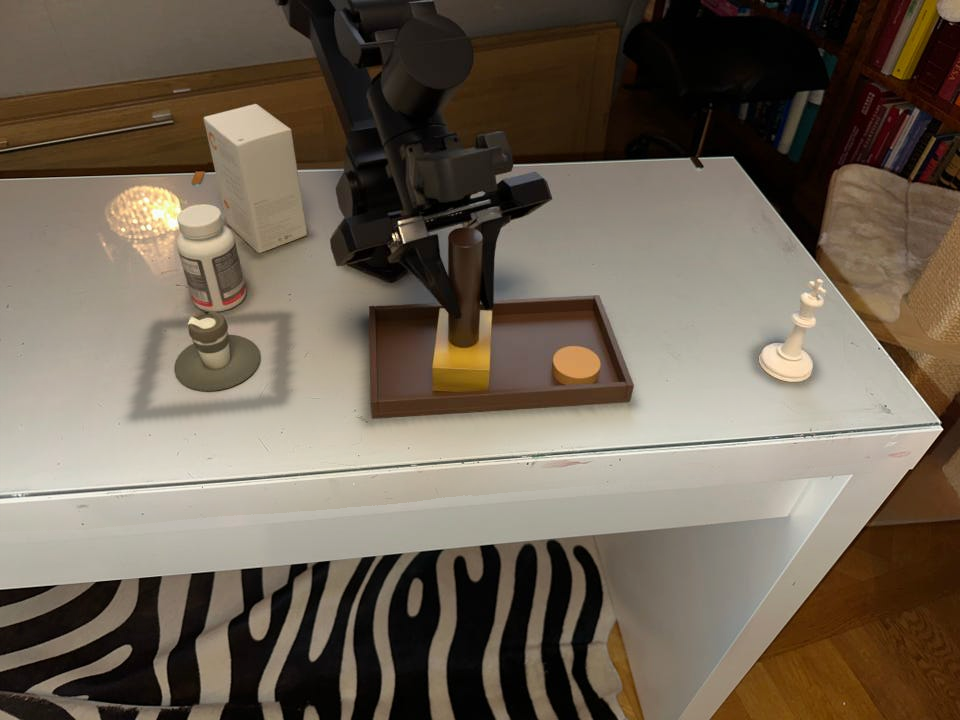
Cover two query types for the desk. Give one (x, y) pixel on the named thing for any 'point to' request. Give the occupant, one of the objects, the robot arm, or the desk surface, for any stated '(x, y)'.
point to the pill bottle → (209, 259)
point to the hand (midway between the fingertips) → (473, 314)
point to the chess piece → (795, 341)
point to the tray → (495, 358)
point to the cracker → (575, 366)
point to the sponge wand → (463, 321)
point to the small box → (257, 176)
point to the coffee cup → (215, 355)
